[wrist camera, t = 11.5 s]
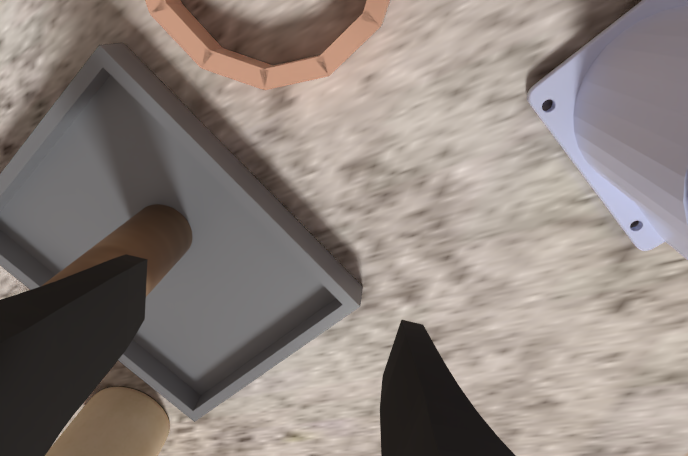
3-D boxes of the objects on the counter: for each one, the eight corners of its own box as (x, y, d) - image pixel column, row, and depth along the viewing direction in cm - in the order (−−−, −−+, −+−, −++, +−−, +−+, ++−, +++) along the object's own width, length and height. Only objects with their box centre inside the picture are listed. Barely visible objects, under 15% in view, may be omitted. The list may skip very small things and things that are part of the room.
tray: (362, 287, 24) (360, 306, 23) (206, 398, 29) (194, 421, 27) (123, 42, 20) (99, 45, 19) (-15, 216, 25) (-44, 230, 23)
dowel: (195, 212, 23) (82, 322, 15) (189, 264, 24) (84, 390, 16) (136, 197, 23) (-9, 298, 15) (134, 249, 24) (-1, 369, 16)
